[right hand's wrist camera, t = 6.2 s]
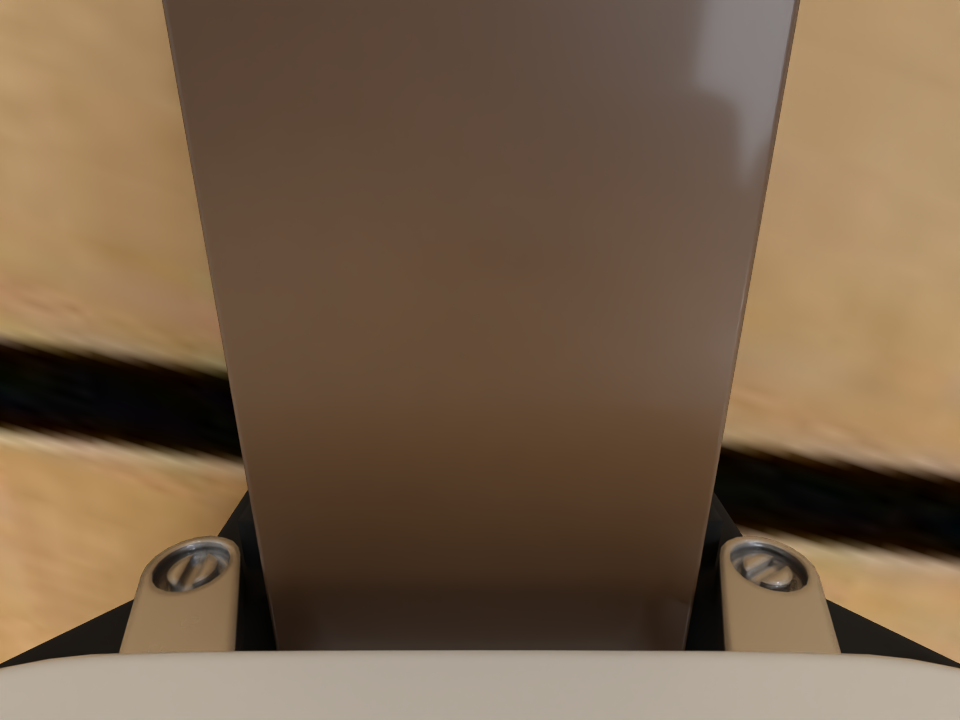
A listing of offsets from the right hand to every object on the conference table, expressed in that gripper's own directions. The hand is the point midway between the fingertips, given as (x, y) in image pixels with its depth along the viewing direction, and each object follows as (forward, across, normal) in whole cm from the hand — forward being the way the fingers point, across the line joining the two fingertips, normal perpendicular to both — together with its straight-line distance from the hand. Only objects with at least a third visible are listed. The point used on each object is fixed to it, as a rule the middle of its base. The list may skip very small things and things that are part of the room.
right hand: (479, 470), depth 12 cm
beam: (+2, 0, -34) cm, 34 cm away
